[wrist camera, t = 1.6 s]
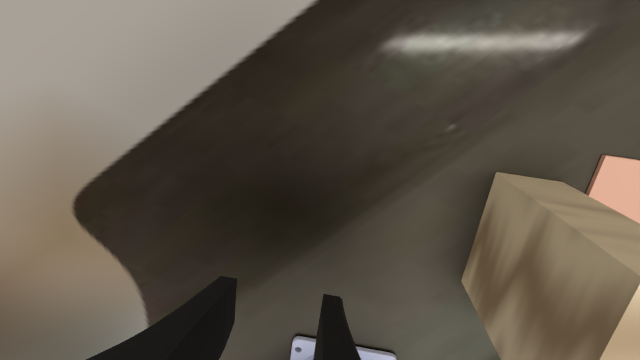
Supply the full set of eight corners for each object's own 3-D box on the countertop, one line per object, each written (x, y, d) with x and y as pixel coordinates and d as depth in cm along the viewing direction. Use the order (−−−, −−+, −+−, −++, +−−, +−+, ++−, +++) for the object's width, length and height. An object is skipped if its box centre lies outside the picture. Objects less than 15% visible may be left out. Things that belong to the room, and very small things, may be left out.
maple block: (519, 290, 23) (658, 476, 12) (461, 281, 23) (548, 455, 13) (562, 182, 20) (783, 300, 10) (496, 171, 20) (643, 277, 10)
